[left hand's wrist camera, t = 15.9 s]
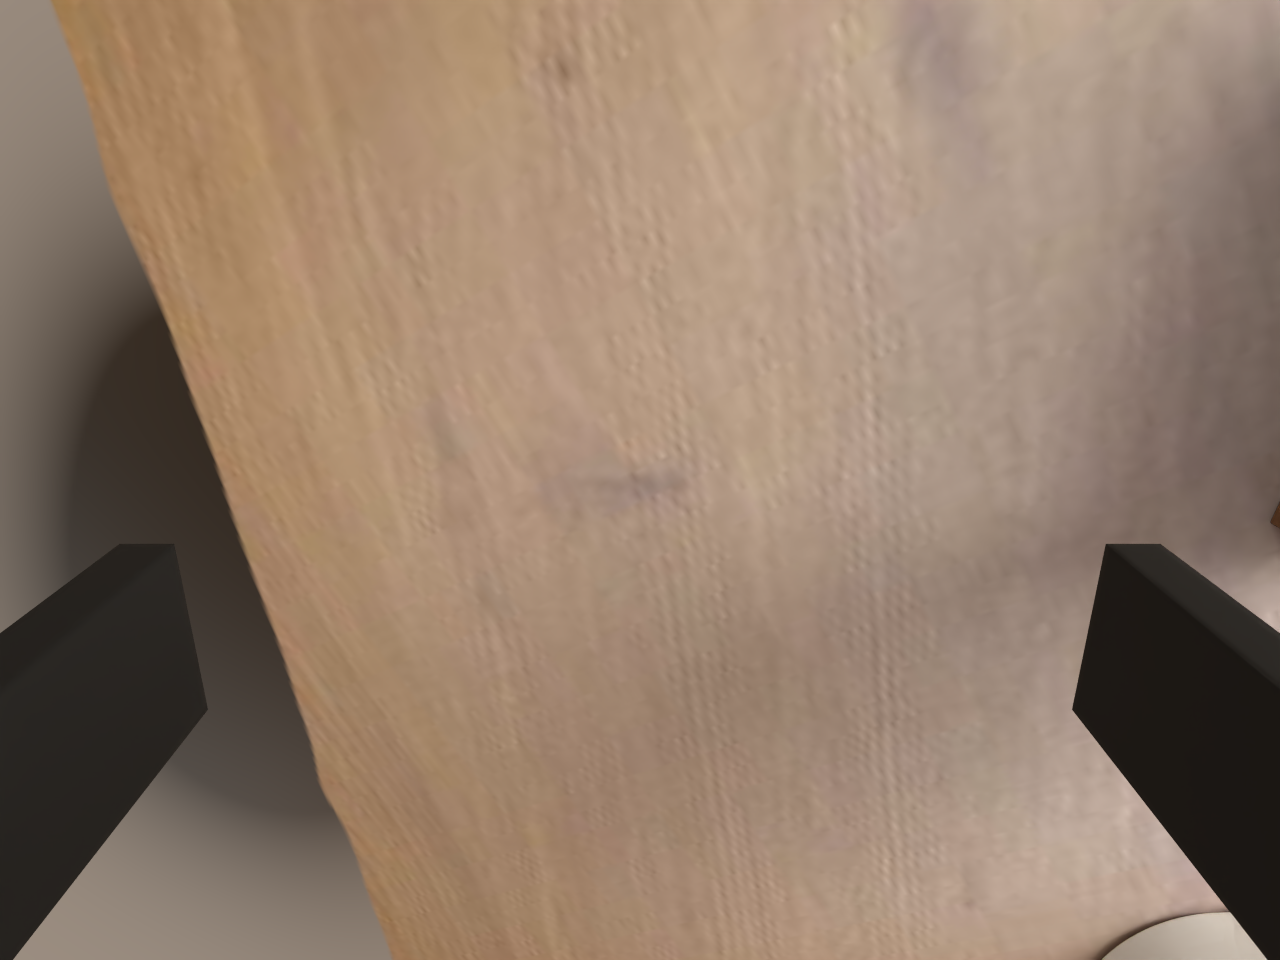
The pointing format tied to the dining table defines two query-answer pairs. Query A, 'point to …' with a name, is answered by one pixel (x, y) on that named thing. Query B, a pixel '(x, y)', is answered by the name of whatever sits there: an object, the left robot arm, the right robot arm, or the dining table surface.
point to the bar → (1276, 517)
